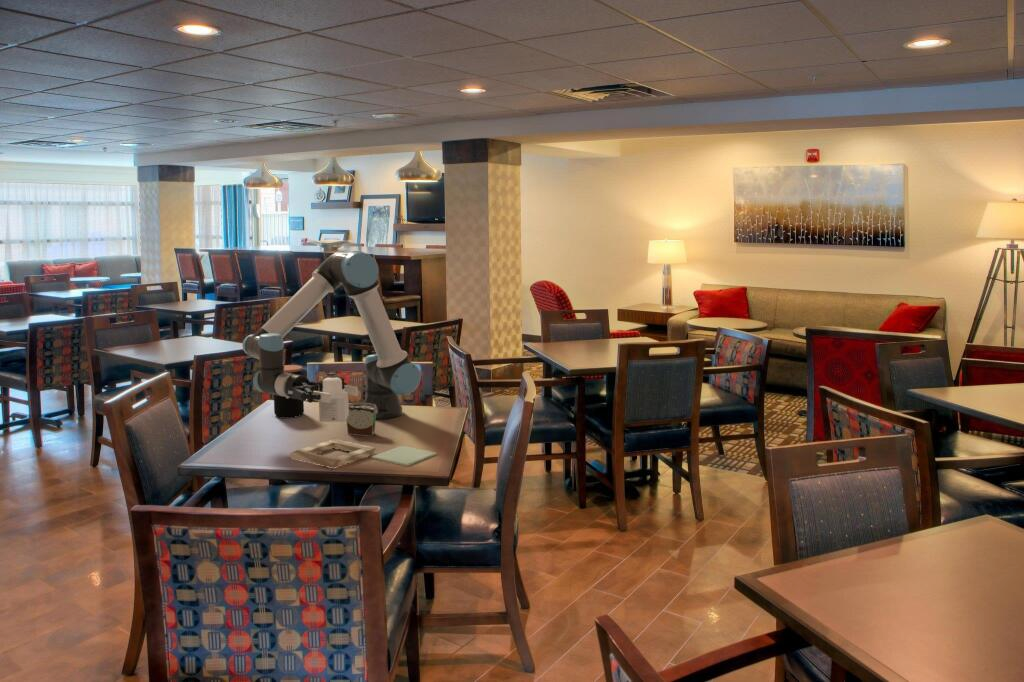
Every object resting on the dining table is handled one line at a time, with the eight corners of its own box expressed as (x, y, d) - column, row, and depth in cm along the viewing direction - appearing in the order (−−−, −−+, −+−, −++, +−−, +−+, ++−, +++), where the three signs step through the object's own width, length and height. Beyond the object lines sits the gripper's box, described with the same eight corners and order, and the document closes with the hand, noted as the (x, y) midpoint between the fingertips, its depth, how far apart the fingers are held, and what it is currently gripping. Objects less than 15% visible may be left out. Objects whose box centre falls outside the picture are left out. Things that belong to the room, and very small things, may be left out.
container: (323, 416, 235) (322, 374, 233) (349, 415, 236) (347, 374, 234) (319, 422, 227) (317, 379, 226) (345, 422, 228) (344, 379, 226)
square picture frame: (334, 444, 246) (334, 438, 246) (375, 454, 236) (375, 447, 236) (290, 458, 231) (290, 452, 231) (333, 469, 221) (333, 462, 221)
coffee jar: (295, 419, 278) (294, 370, 276) (269, 417, 281) (267, 369, 278) (309, 412, 289) (307, 365, 286) (283, 410, 291) (281, 364, 288)
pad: (402, 447, 243) (402, 445, 243) (436, 454, 236) (436, 452, 236) (371, 458, 232) (371, 456, 232) (407, 466, 224) (407, 464, 224)
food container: (385, 432, 261) (384, 404, 260) (376, 437, 255) (375, 408, 254) (353, 429, 265) (352, 401, 264) (344, 433, 259) (343, 405, 258)
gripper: (321, 391, 250) (370, 399, 238) (263, 404, 231) (314, 414, 219) (320, 368, 249) (370, 376, 237) (262, 380, 230) (313, 389, 218)
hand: (343, 394), depth 228 cm, fingers closed on container, 10 cm apart
